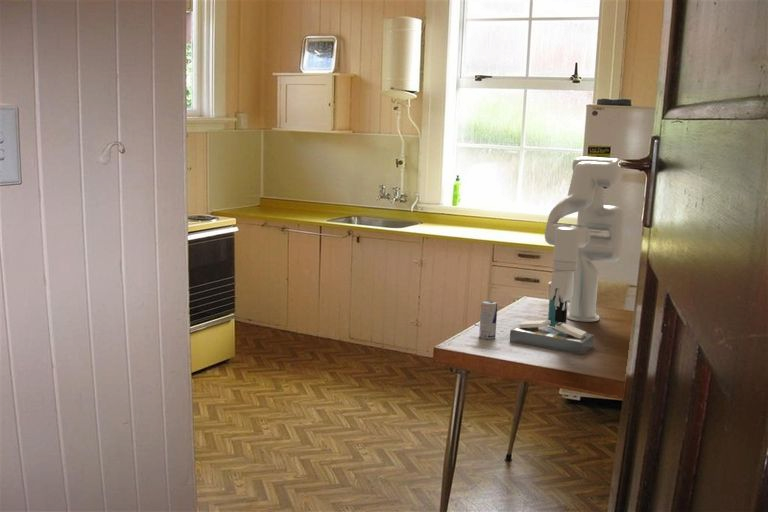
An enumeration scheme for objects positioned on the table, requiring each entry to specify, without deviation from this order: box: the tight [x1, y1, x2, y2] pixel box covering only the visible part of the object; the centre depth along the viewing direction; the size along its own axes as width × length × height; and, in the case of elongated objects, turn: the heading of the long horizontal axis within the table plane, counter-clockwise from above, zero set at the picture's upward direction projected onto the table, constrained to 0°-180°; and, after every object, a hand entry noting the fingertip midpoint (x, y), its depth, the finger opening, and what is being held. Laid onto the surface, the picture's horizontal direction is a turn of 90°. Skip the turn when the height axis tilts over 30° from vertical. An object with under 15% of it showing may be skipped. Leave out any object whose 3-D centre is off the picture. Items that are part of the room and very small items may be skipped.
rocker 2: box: [553, 322, 587, 339], centre depth 254 cm, size 5×9×1 cm, turn 58°
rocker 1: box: [518, 319, 551, 328], centre depth 260 cm, size 5×9×1 cm, turn 58°
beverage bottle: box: [547, 284, 568, 328], centre depth 275 cm, size 6×7×20 cm
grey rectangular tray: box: [509, 324, 595, 356], centre depth 258 cm, size 12×24×5 cm, turn 58°
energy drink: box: [478, 300, 498, 340], centre depth 262 cm, size 5×5×12 cm
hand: (560, 321), depth 255 cm, fingers closed
